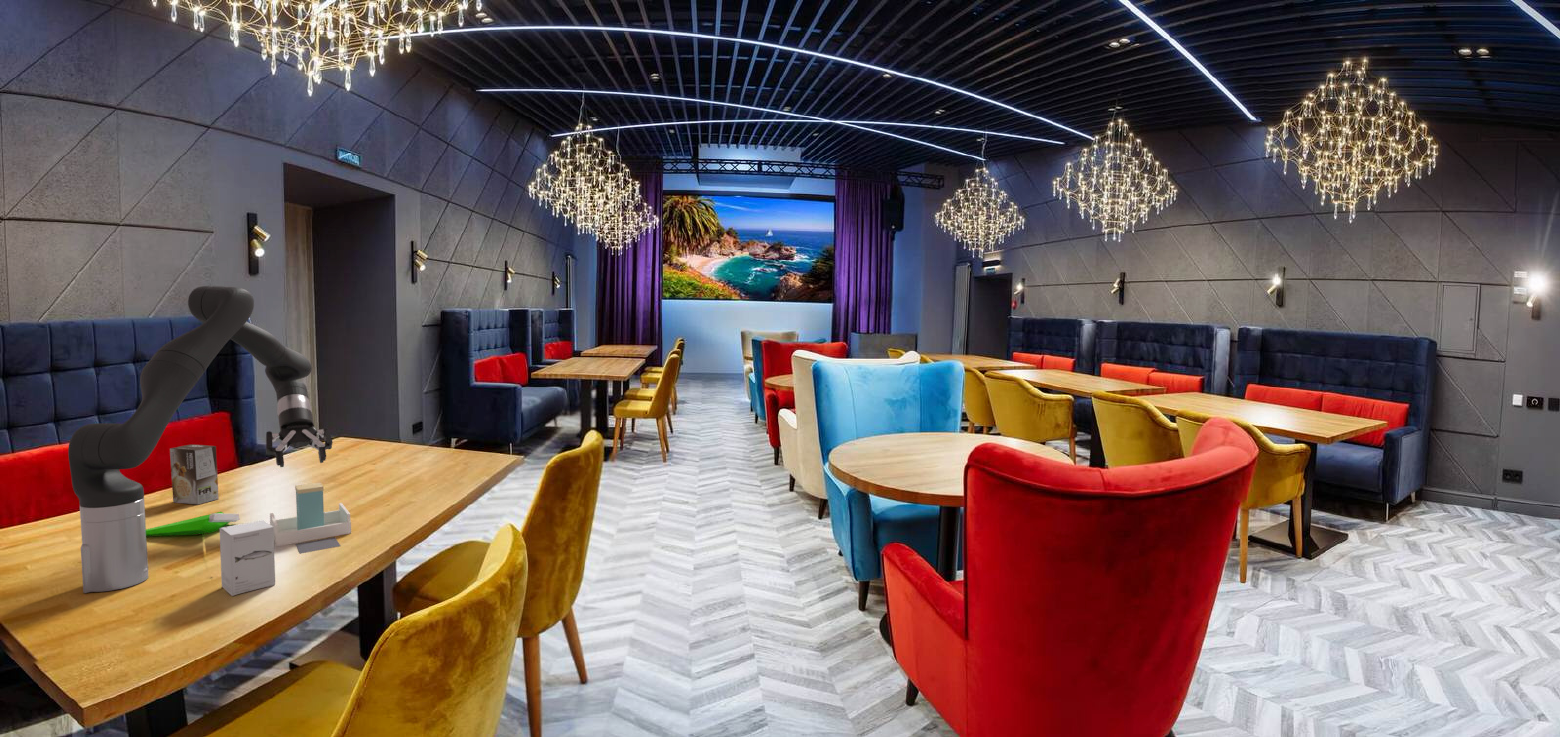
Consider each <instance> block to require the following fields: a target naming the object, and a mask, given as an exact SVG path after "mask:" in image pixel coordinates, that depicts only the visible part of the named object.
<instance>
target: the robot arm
mask: <svg viewBox="0 0 1560 737" xmlns="http://www.w3.org/2000/svg"><path fill="white" fill-rule="evenodd" d="M254 300H255V299H254V297H253V295H252V293H250V291H248V290H247V289H244V288H241V287H237V286H222V285H221V286H220V285H217V286H216V285H203V286H198V287H196V288H194V289H193V290H192V291H191V292H190V293H189V295H188V298H187V307H188V309H189V312H190V314H192V316H193V317H194V318H195V319H197V320H198V321H199V322H201V325H199V326H198V327H195V328H193V329H191V330H190V331H187V332H186V333H183V334H181V335H179V336H177V337H176V338H174V339H173V338H172V340H170V341H168V342H166V343H165V344H164V345H162V346H161V347H159V349H158V350H157V351H156V352H155V353H154V355H153V356H152V357H151V358H150V359H149V361H148V362H147V363H146V364H145V365H144V367H143V368H142V370H141V373H140V377H139V378H140V380H139V383H140V384H139V385H140V390H141V391H140V392H141V401H140V404H139V405H138V407H137V408H136V410H135V411H134V412H133V414H132V415H131V416H130V417H129V418H128V419H127V420H126V421H125V422H123V423H100V422H99V423H89V424H85V425H82V426H80V427H79V428H77V430H75V431H74V433H73V434H72V436H71V438H70V441H69V443H68V450H67V451H68V452H67V453H68V454H67V455H68V464H69V470H70V478H71V484H72V485H71V486H72V489H73V492H74V494H75V495H76V496H77V499H78V502H79V515H80V517H79V518H80V531H81V533H80V534H81V545H80V557H81V558H80V559H81V573H82V574H81V575H82V578H81V579H82V591H83V594H86V593H87V594H88V593H93V592H94V593H98V592H99V593H100V592H101V593H102V592H109V591H114V590H115V591H116V590H120V589H126V588H128V587H133V586H135V585H138V584H141V583H144V582H145V581H146V580H147V579H149V563H148V562H149V561H148V544H147V537H146V529H147V526H146V509H145V493H144V492H145V491H144V490H145V488H144V486H143V485H142V484H141V483H140V482H137V481H135V480H133V479H131V478H128V477H127V476H125V475H124V474H122V472H121V471H120V470H130V469H135V468H137V467H139V466H140V465H142V464H143V463H144V462H145V461H146V460H147V459H148V458H149V457H150V455H151V454H152V452H153V451H154V449H155V448H156V447H157V444H158V443H159V441H160V439H161V437H162V436H163V434H164V431H165V429H166V428H167V426H168V424H169V423H170V422H171V419H172V418H173V416H174V415H175V413H176V412H177V410H178V409H179V407H180V406H181V404H182V402H184V400H185V399H186V397H187V396H188V395H189V393H190V392H191V391H192V389H193V388H194V387H195V386H196V385H197V383H198V381H200V379H201V377H203V375H204V374H205V372H206V371H207V369H208V367H209V366H210V365H211V363H212V362H213V360H215V358H216V357H217V355H218V354H219V353H220V352H221V350H222V349H223V348H224V347H225V345H226V344H227V343H228V342H229V341H230V340H231V341H233V342H234V343H236V344H238V345H239V346H240V347H241V348H243V349H244V350H245V351H246V352H248V353H249V354H250V355H251V356H252V357H253V358H254V359H256V360H257V361H258V362H259V363H260V364H261V365H263V366H265V368H264V372H265V375H266V377H267V379H268V380H269V382H270V383H271V385H272V386H273V389H274V392H275V394H276V402H277V418H278V425H279V432H275V433H273V432H272V431H269V430H268V431H266V433H265V449H266V450H265V451H266V452H265V453H266V456H275V461H276V465H277V466H279V467H280V468H284V466H285V460H284V452H286V451H287V450H288V449H289V447H292V448H297V447H307V446H309V447H310V448H312V449H315V450H317V451H318V460H319V463H320V464H322V463H324V461H326V459H327V453H326V452H327V451H326V450H331V449H332V448H333V447H332V446H333V439H332V435H331V432H330V428H329V427H328V426H324V427H323V428H321V429H316V427H315V422H314V418H313V411H312V410H313V409H312V406H311V403H310V399H309V394H308V388H307V386H306V384H305V383H304V382H303V381H301V379H304V378H306V377H308V376H309V375H310V374H311V372H312V363H311V361H310V360H309V359H308V357H306V355H304V354H302V353H300V352H298V351H296V350H294V349H292V348H290V347H287V346H285V345H284V344H283V343H282V342H281V341H280V340H279V339H278V338H277V337H276V336H275V335H273V334H272V333H271V332H269V331H267V330H266V329H264V328H261V327H259V326H257V325H255V324H252V323H250V322H249V321H248V320H249V319H250V317H251V316H252V314H253V310H254V307H255V301H254ZM318 435H319V436H320V437H321V439H322V438H323V439H324V442H323V441H321V440H320V439H319V438H318V437H317V436H318ZM277 439H278V440H280V444H278V446H277V447H273V443H274V442H276V440H277Z"/></svg>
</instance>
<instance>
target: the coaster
mask: <svg viewBox="0 0 1560 737" xmlns="http://www.w3.org/2000/svg"><path fill="white" fill-rule="evenodd" d="M294 545H295V547H296V549H297V551H298V553H299V554H301V555H302V554H306V553H311V552H316V551H320V550H328V549H332V548H339V547H341V544H340V542H339V541H338V539H337V538H336V536H333V537H327V538H321V539H316V540H310V541H304V542H299V543H294Z"/></svg>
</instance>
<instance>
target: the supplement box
mask: <svg viewBox="0 0 1560 737" xmlns="http://www.w3.org/2000/svg"><path fill="white" fill-rule="evenodd" d="M219 548H220V554H219V555H220V572H221V574H220V575H221V577H220V578H221V587H222V588H223V589H224V590H225V591H226V592H227V593H228V594H229V595H230V596H231V597H233V596H236V595H239V594H240V595H241V594H244V593H248V592H251V591H255V590H259V589H263V588H268V587H272V586H275V585H276V568H275V567H276V564H275V542H274V527H273V526H271V525H270V523H269V522H266V521H265V520H263V519H261V520H257V521H256V520H255V521H251V522H245V523H240V524H239V523H238V524H235V525H229V526H224V527H222V528H220V529H219Z"/></svg>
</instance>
